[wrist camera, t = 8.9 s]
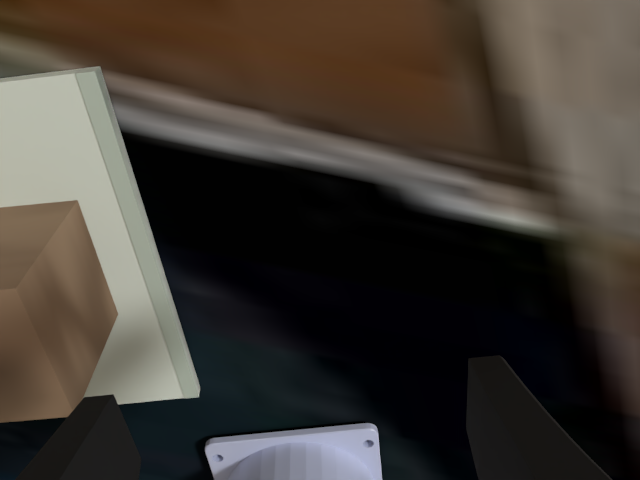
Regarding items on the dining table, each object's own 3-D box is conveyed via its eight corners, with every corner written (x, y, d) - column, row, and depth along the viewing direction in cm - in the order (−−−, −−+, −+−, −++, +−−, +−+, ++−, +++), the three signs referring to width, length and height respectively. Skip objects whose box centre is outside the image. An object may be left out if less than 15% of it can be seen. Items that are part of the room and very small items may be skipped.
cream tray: (200, 387, 25) (198, 397, 25) (-1, 408, 26) (-7, 417, 25) (100, 66, 18) (94, 71, 17) (-182, 100, 18) (-194, 106, 18)
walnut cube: (118, 314, 22) (75, 416, 18) (-9, 325, 22) (-82, 429, 18) (77, 200, 20) (15, 288, 15) (-66, 213, 20) (-167, 305, 16)
